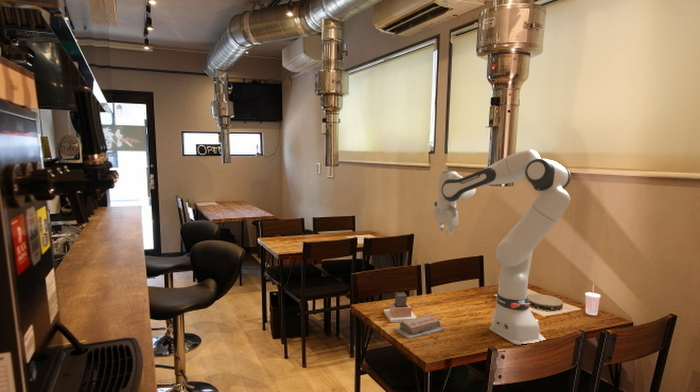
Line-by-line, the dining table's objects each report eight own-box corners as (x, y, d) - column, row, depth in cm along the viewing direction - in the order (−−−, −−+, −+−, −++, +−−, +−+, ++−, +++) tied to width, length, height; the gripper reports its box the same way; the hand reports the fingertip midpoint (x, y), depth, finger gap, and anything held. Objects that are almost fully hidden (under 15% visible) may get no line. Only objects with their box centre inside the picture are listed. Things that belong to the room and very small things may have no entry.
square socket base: (417, 320, 177) (418, 309, 177) (390, 322, 175) (391, 310, 175) (408, 310, 189) (409, 299, 188) (383, 311, 187) (383, 300, 186)
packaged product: (428, 311, 176) (444, 320, 168) (428, 322, 177) (444, 331, 168) (394, 319, 167) (409, 328, 159) (394, 330, 168) (409, 340, 159)
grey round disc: (562, 303, 203) (562, 297, 202) (562, 314, 189) (563, 307, 188) (527, 297, 210) (527, 292, 209) (525, 307, 196) (525, 301, 195)
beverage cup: (584, 314, 188) (586, 284, 186) (583, 310, 193) (585, 281, 192) (599, 317, 185) (602, 286, 184) (598, 312, 190) (600, 283, 189)
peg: (406, 315, 180) (406, 295, 179) (397, 315, 180) (397, 295, 179) (403, 311, 184) (403, 292, 183) (394, 312, 183) (395, 292, 183)
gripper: (462, 207, 188) (461, 236, 189) (444, 202, 208) (443, 228, 209) (449, 207, 187) (448, 237, 188) (432, 202, 207) (431, 229, 208)
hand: (445, 232), depth 199 cm, fingers open, 8 cm apart
